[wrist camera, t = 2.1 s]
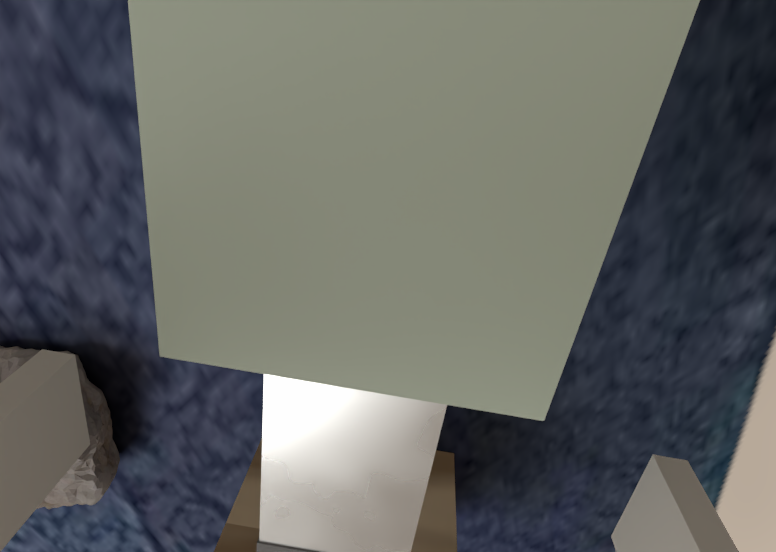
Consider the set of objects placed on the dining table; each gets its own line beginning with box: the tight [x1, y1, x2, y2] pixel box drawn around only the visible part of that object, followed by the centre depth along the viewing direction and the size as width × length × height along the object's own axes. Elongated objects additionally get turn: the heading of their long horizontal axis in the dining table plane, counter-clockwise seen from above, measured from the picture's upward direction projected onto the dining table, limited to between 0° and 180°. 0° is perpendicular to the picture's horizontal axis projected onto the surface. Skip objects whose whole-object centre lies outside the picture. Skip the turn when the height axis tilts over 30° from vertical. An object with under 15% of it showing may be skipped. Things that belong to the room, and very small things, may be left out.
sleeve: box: [128, 0, 700, 421], centre depth 11 cm, size 10×7×11 cm, turn 172°
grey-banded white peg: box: [256, 374, 447, 552], centre depth 11 cm, size 18×4×4 cm, turn 172°
